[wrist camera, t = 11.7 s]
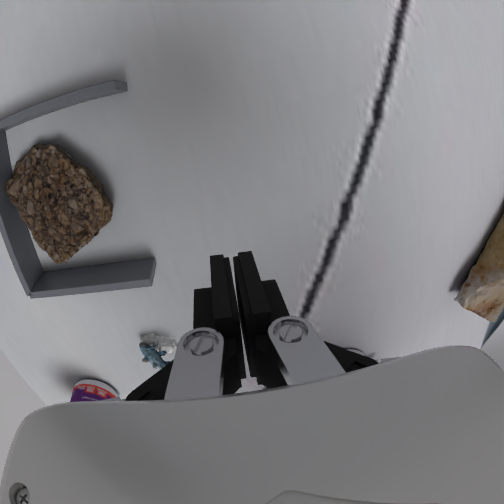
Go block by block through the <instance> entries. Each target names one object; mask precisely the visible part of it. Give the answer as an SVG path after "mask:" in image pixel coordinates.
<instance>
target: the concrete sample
mask: <svg viewBox="0 0 504 504" xmlns="http://www.w3.org/2000/svg"><path fill="white" fill-rule="evenodd" d="M5 191H6V193H7V194H8V196H9V199H10V201H11V202H12V204H13V205H15V206H16V207H17V209H18V212H19V215H20V219H21V220H23V221H24V223H25V224H26V225H27V226H28V228H29V229H30V231H31V232H32V235H33V238H34V240H35V241H36V242H37V243H38V245H39V247H40V248H42V249H43V250H44V251H46V252H47V253H48V255H49V257H51V258H52V259H53V261H54V262H55V263H66V262H67V260H68V259H70V258H71V257H72V256H73V255H74V254H75V253H77V252H78V251H79V250H80V249H81V248H82V247H83V246H84V245H85V244H88V242H90V241H91V239H92V238H94V236H96V235H97V234H98V233H99V230H100V229H101V228H102V227H103V226H105V225H106V224H107V223H108V222H110V220H111V217H112V212H113V204H112V203H111V201H110V198H108V197H107V196H106V195H105V193H104V192H103V185H102V184H101V183H100V182H97V181H96V176H95V175H93V174H91V171H90V170H88V168H87V167H85V166H83V165H80V163H77V162H76V161H75V160H74V159H73V158H72V156H70V155H69V154H68V153H66V152H65V151H63V150H62V149H60V148H59V147H58V145H54V144H47V145H45V146H42V145H41V144H40V143H39V144H37V145H34V146H33V147H32V148H31V149H30V150H29V152H28V153H27V154H26V156H25V157H24V158H23V159H20V160H19V161H17V162H16V165H15V168H14V171H13V173H12V178H9V180H8V181H7V184H6V186H5Z"/></svg>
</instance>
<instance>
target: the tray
mask: <svg viewBox="0 0 504 504" xmlns="http://www.w3.org/2000/svg"><path fill="white" fill-rule="evenodd" d="M126 91H127V83H125V82H120V81H116V80H114V81H109V82H106V83H102V84H98V85H94V86H91V87H87V88H84V89H80V90H77V91H74V92H71V93H68V94H65V95H62V96H59V97H56V98H53V99H50V100H48V101H45V102H42V103H40V104H37V105H34V106H32V107H30V108H27V109H25V110H22V111H20V112H18V113H15V114H13V115H11V116H9V117H7V118H4V119H2V120H0V231H1V234H2V237H3V240H4V242H5V245H6V248H7V250H8V253H9V256H10V258H11V261H12V263H13V266H14V268H15V270H16V273H17V275H18V277H19V279H20V282H21V284H22V286H23V288H24V290H25V293H26V295H27V296H30V297H31V299H32V298H43V297H53V296H64V295H74V294H84V293H93V292H103V291H112V290H121V289H130V288H139V287H148V286H152V283H153V278H154V273H155V268H156V261H155V258H148V259H141V260H133V261H125V262H118V263H110V264H103V265H95V266H88V267H80V268H73V269H66V270H58V271H51V272H43V269H42V267H41V264H40V262H39V259H38V256H37V254H36V251H35V248H34V245H33V243H32V240H31V237H30V234H29V231H28V228H27V225H26V224H25V223H24V221H23V220H21V219H20V215H19V212H18V209H17V207H16V206H15V205H13V204H12V202H11V201H10V199H9V196H8V194H7V193H6V191H5V186H6V184H7V181H8V180H9V178H12V173H13V172H12V168H11V163H10V158H9V152H8V147H7V140H6V134H5V130H8V129H10V128H12V127H15V126H17V125H19V124H22V123H24V122H27V121H29V120H32V119H34V118H37V117H40V116H42V115H45V114H48V113H51V112H54V111H57V110H60V109H63V108H66V107H69V106H72V105H75V104H79V103H82V102H86V101H89V100H93V99H97V98H100V97H104V96H108V95H112V94H117V93H121V92H126Z"/></svg>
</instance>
